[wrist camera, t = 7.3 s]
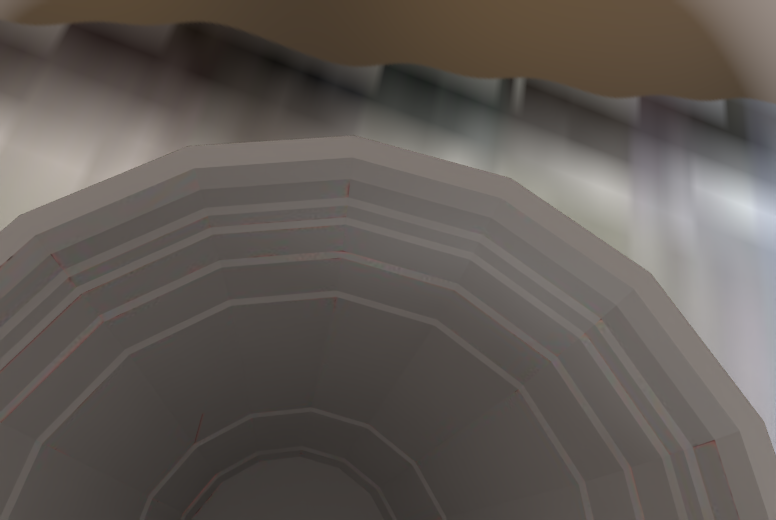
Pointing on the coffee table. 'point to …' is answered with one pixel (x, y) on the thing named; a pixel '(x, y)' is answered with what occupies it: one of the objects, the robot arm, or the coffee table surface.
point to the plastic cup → (351, 353)
